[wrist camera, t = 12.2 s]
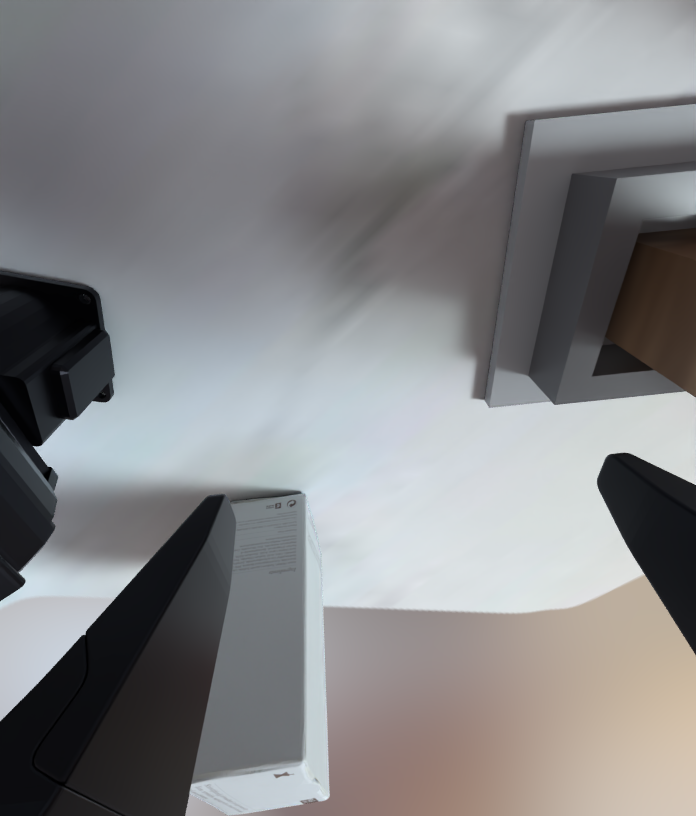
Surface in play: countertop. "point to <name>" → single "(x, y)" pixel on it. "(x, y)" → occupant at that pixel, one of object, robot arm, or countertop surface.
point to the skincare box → (268, 668)
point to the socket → (585, 250)
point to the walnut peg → (660, 305)
